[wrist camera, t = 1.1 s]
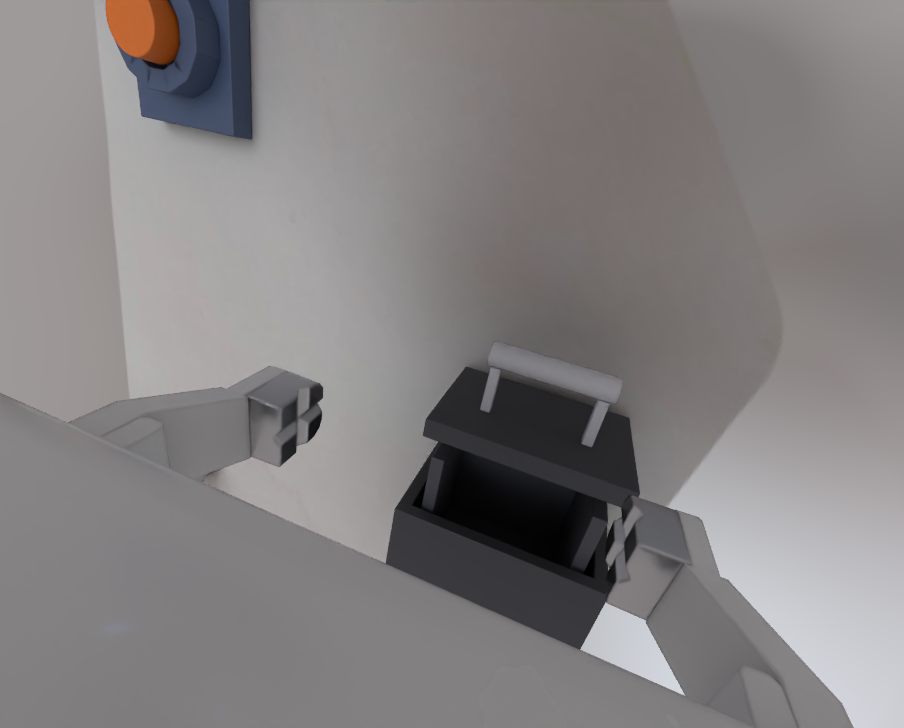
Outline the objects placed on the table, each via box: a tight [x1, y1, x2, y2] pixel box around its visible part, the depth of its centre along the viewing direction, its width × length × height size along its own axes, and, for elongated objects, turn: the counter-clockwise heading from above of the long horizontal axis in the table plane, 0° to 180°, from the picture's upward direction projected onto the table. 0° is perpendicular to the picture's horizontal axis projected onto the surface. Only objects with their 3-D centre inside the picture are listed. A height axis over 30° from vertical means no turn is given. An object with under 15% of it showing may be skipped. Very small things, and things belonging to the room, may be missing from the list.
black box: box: [386, 442, 608, 650], centre depth 30 cm, size 14×13×10 cm
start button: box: [106, 0, 181, 65], centre depth 24 cm, size 4×4×2 cm
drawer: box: [421, 341, 640, 574], centre depth 26 cm, size 17×11×8 cm
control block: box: [114, 0, 252, 139], centre depth 26 cm, size 10×8×4 cm
